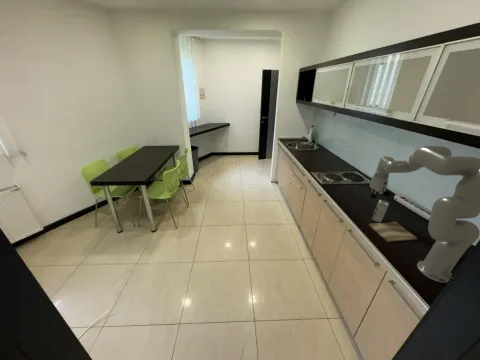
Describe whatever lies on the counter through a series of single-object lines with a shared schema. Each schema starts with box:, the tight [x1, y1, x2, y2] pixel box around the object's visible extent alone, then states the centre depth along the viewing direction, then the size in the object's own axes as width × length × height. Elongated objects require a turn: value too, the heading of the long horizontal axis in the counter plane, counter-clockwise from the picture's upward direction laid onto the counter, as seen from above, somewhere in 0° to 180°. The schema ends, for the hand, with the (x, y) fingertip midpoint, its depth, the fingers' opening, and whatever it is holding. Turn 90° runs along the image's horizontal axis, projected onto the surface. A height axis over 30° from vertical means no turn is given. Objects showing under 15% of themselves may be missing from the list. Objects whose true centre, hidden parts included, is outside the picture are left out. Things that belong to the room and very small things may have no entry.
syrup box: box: [371, 199, 390, 223], centre depth 135 cm, size 6×6×14 cm
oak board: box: [368, 221, 418, 243], centre depth 127 cm, size 16×20×1 cm
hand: (373, 197), depth 141 cm, fingers closed
